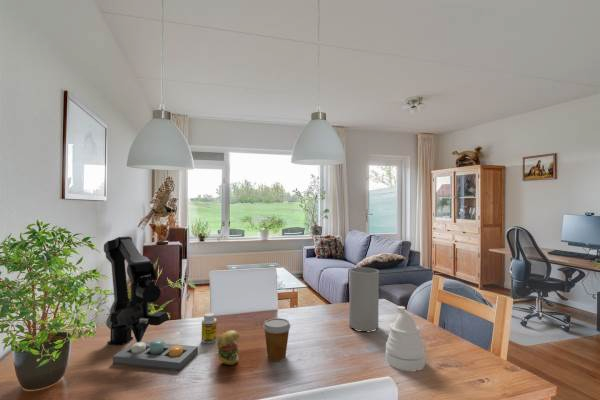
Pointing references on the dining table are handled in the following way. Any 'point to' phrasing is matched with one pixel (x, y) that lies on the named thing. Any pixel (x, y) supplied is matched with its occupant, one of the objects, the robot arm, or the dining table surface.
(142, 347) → the ivory button
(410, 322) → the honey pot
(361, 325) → the cylinder vase
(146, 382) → the dining table surface
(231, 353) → the hamburger
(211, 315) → the supplement bottle
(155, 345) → the teal button
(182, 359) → the panel
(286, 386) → the dining table surface
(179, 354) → the orange button
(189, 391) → the dining table surface
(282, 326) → the disposable coffee cup
